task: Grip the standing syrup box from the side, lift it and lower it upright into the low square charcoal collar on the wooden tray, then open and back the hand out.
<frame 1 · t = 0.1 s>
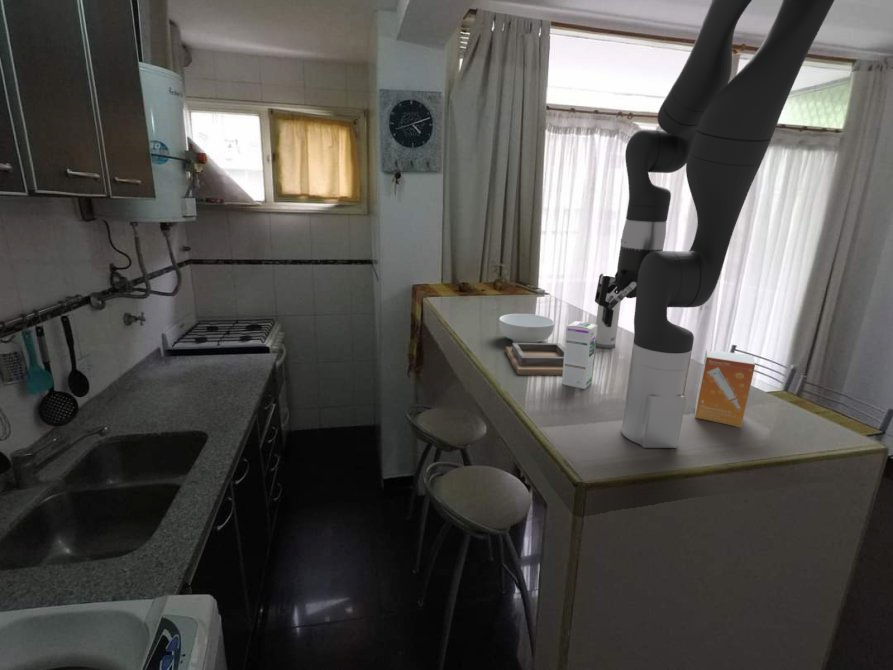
hand: (628, 326, 90), 17 cm above the countertop, tool pointing down, fingers open, 8 cm apart
small box: (717, 418, 91), on the countertop
syrup box: (576, 384, 107), on the countertop
travel mug: (604, 346, 139), on the countertop
cereal bowl: (524, 341, 142), on the countertop
wooden tray: (540, 362, 121), on the countertop
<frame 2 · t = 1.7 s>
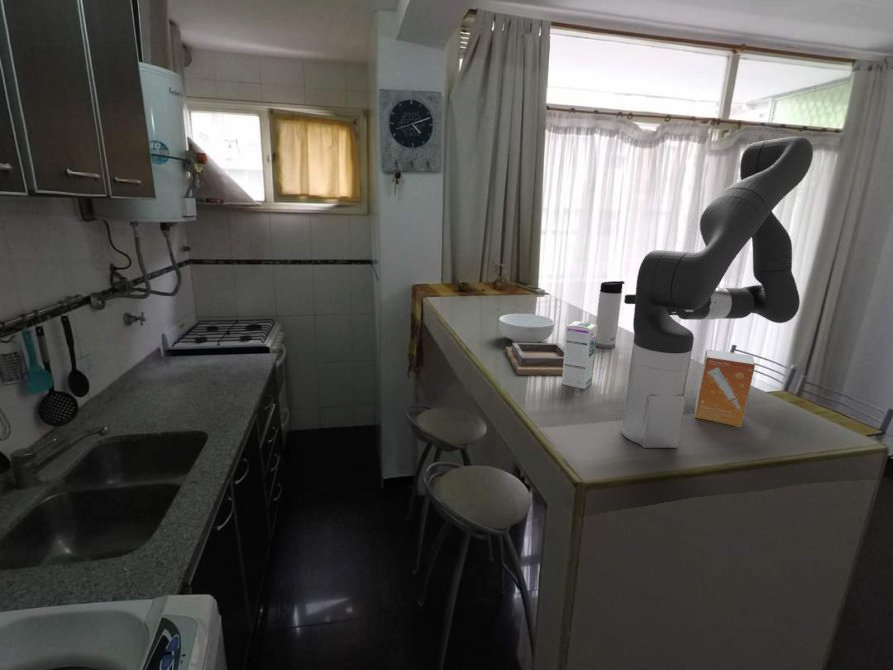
hand: (632, 302, 102), 20 cm above the countertop, tool horizontal, fingers open, 8 cm apart
nothing on the countertop moved.
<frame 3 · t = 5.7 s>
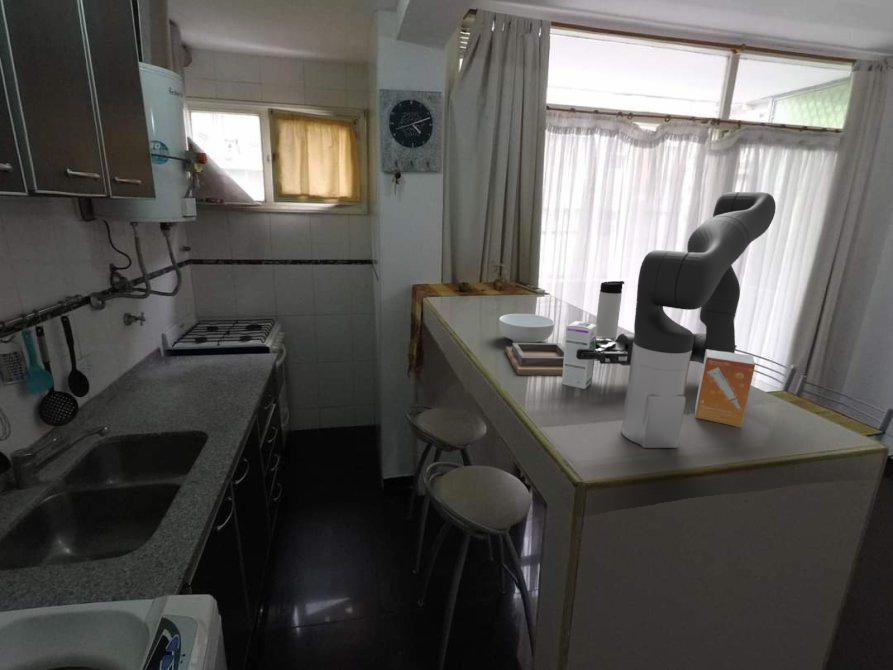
hand: (571, 348, 105), 9 cm above the countertop, tool horizontal, fingers closed on syrup box, 7 cm apart
syrup box: (576, 384, 107), on the countertop, touching gripper
everything else where it was.
when the fingers open (11 cm above the countertop, at t = 11.3 s): syrup box drops 1 cm, resting on wooden tray.
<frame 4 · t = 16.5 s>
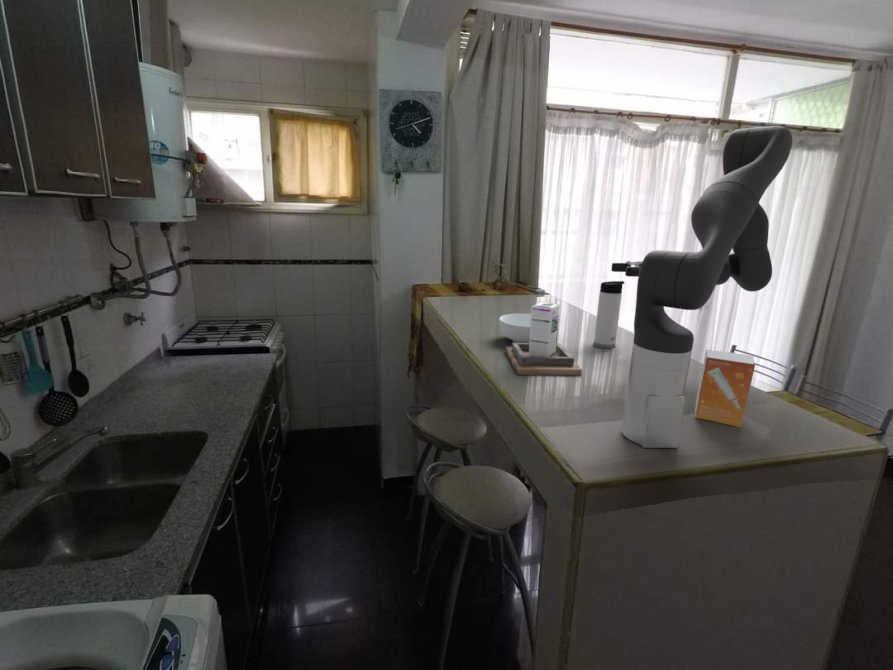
hand: (618, 269, 110), 26 cm above the countertop, tool horizontal, fingers open, 8 cm apart
syrup box: (541, 358, 121), point 1 cm above the countertop, touching wooden tray
everything else where it was.
at the end: syrup box 0.2 cm off-centre on the wooden tray, point 1.3 cm above the wooden tray's base; syrup box tilted 0°; the gripper is holding nothing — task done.
